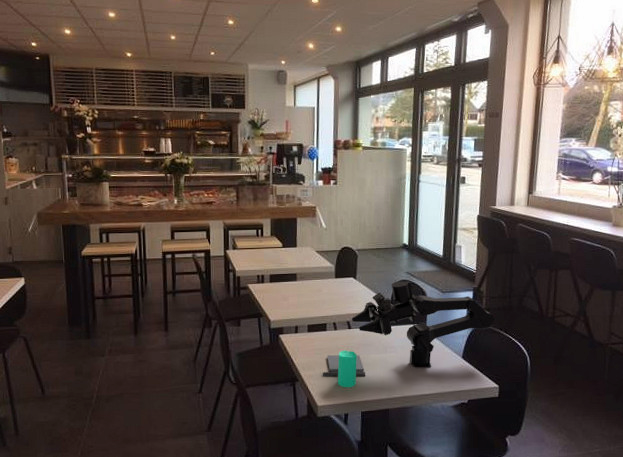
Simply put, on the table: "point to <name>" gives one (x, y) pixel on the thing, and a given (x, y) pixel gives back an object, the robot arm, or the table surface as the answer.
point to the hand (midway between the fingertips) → (355, 324)
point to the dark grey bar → (337, 374)
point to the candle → (347, 369)
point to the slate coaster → (334, 361)
